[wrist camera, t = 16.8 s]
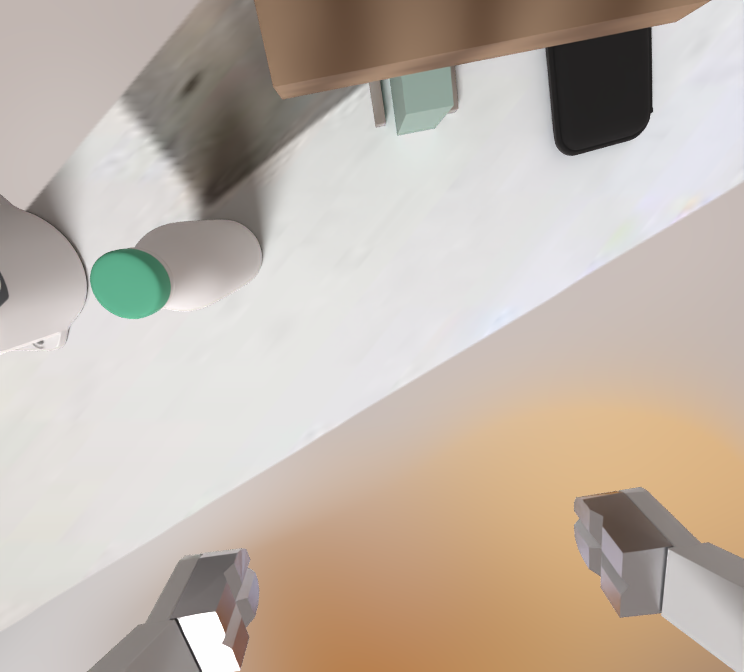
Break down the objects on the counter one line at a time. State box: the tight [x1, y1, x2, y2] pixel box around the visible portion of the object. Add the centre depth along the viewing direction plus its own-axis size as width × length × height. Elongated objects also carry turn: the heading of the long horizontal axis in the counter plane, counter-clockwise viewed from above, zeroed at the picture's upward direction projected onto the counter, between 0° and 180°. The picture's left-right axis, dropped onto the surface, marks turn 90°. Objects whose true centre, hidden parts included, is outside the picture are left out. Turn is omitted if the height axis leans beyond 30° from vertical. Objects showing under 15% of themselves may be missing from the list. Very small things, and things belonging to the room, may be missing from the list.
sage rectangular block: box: [390, 67, 454, 136], centre depth 34 cm, size 4×8×9 cm, turn 10°
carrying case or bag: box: [546, 27, 653, 156], centre depth 37 cm, size 11×3×15 cm
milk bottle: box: [90, 219, 262, 319], centre depth 34 cm, size 8×8×20 cm
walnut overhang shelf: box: [254, 0, 711, 127], centre depth 26 cm, size 20×14×24 cm
